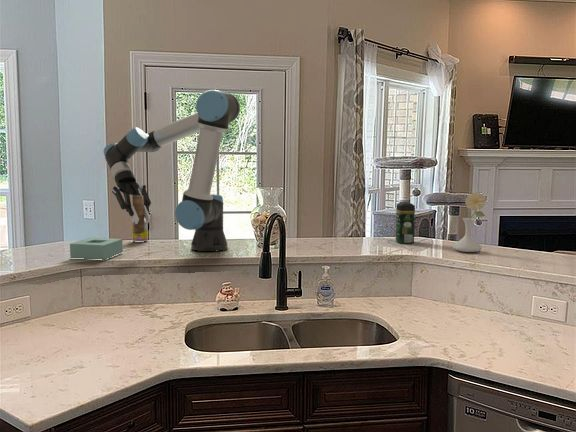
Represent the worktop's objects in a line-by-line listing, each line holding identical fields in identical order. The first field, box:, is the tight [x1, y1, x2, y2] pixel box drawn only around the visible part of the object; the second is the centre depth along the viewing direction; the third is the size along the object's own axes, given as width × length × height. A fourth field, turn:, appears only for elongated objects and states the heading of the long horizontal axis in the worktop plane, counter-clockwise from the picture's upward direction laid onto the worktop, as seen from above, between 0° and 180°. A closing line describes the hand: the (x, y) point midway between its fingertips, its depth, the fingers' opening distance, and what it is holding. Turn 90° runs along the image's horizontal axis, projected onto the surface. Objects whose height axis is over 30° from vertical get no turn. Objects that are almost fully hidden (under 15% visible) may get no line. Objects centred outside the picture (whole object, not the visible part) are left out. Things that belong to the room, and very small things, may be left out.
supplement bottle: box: [131, 217, 149, 242], centre depth 244 cm, size 7×7×13 cm
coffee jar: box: [395, 201, 416, 245], centre depth 246 cm, size 10×8×19 cm
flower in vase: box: [453, 191, 487, 253], centre depth 224 cm, size 13×11×25 cm
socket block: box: [69, 237, 124, 260], centre depth 210 cm, size 14×14×6 cm
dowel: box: [131, 195, 145, 233], centre depth 207 cm, size 4×4×14 cm
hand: (143, 220), depth 205 cm, fingers closed on dowel, 4 cm apart
